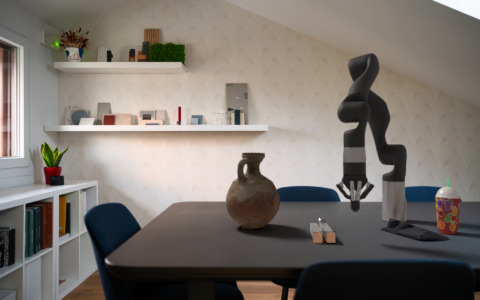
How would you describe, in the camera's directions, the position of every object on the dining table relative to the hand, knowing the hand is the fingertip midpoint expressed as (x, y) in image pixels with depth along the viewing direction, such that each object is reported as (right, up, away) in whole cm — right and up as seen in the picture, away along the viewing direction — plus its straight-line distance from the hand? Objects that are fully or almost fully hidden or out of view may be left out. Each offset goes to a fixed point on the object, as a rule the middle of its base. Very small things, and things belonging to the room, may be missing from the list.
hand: (355, 211), depth 129 cm
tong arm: (-8, -10, +5) cm, 14 cm away
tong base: (-10, -10, +7) cm, 16 cm away
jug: (-34, -10, +22) cm, 42 cm away
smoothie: (+38, -10, +12) cm, 41 cm away
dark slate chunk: (+24, -11, +10) cm, 29 cm away
